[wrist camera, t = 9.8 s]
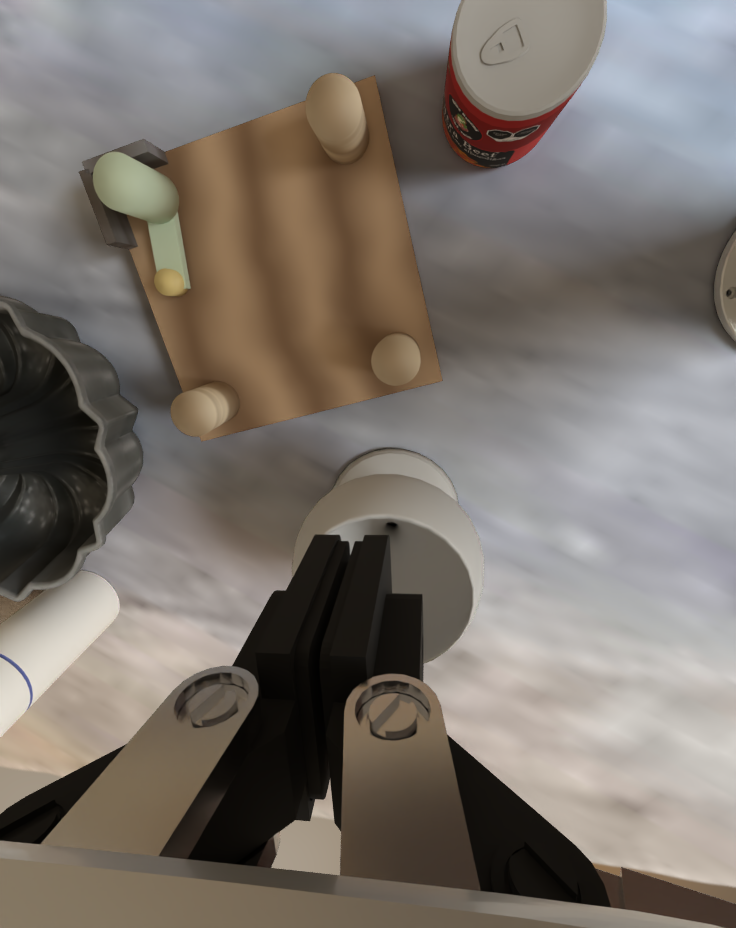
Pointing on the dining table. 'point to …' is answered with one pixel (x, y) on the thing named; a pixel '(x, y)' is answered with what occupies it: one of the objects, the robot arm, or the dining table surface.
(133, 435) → the bundt pan
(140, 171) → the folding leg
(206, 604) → the dining table surface
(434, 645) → the chalice
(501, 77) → the canned food
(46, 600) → the cylindrical container
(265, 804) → the robot arm
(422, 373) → the stool board
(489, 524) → the dining table surface
